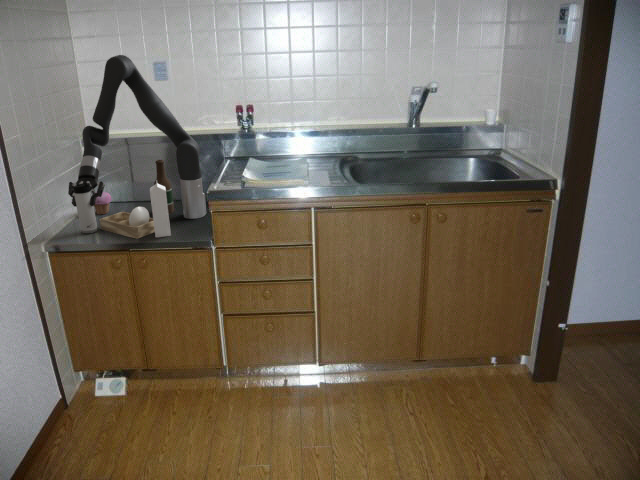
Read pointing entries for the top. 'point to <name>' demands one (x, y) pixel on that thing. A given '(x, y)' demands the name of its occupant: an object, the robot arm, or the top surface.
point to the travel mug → (85, 208)
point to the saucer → (138, 216)
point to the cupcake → (102, 203)
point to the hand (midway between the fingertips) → (83, 205)
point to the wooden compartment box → (126, 225)
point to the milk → (160, 210)
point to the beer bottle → (164, 184)
